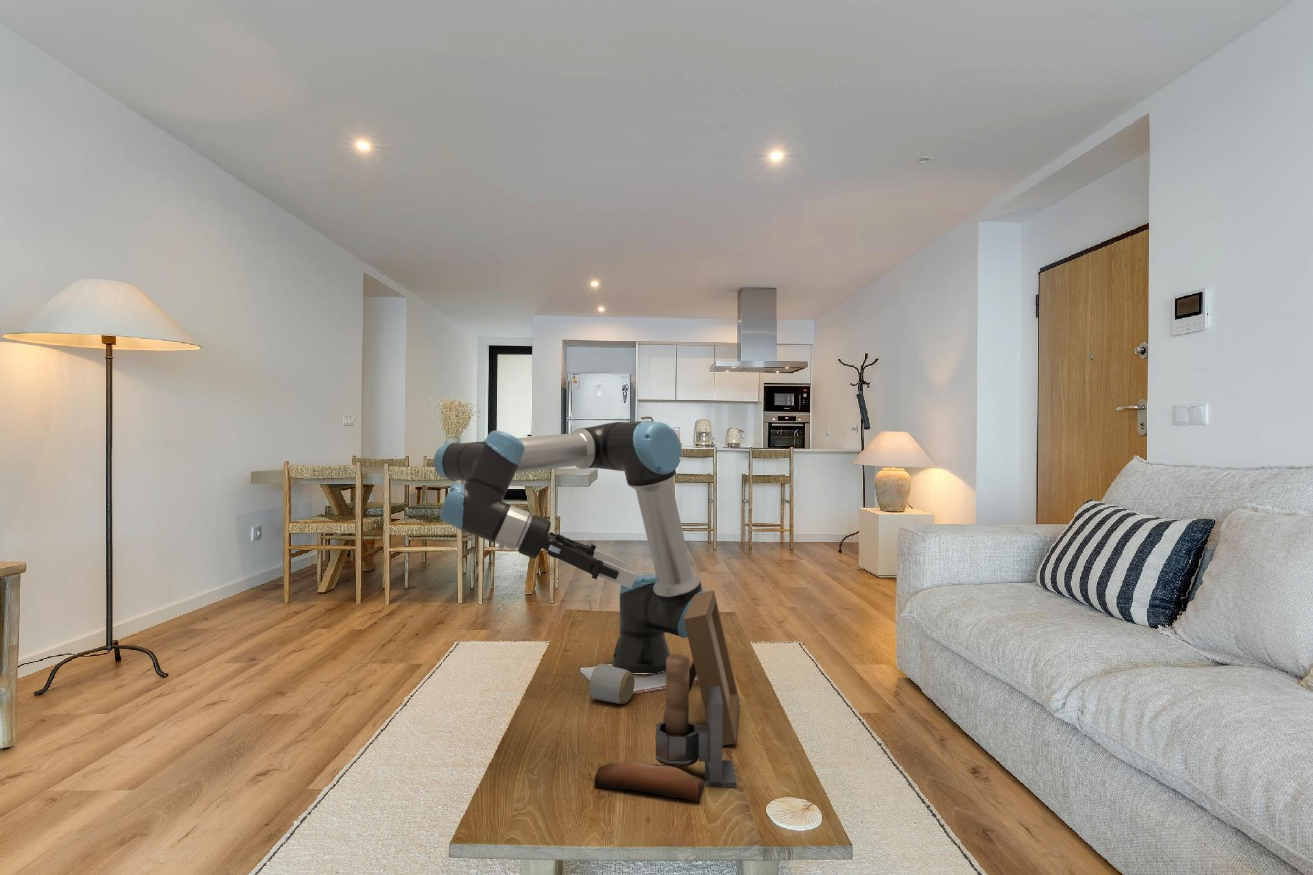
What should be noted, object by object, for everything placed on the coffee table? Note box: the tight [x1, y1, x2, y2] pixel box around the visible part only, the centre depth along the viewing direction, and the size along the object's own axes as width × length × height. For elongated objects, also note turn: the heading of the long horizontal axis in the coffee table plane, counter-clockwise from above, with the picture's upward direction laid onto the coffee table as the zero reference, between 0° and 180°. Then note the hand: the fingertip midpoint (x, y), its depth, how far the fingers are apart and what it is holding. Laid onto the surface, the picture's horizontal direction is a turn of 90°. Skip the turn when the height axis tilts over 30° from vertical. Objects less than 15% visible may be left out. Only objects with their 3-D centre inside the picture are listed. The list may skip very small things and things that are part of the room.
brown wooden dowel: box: [665, 654, 690, 736], centre depth 119 cm, size 4×4×16 cm
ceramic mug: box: [589, 663, 635, 705], centre depth 154 cm, size 11×8×8 cm
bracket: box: [655, 686, 738, 788], centre depth 119 cm, size 14×8×14 cm, turn 89°
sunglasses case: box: [593, 760, 706, 804], centre depth 115 cm, size 18×7×7 cm, turn 75°
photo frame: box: [662, 590, 741, 746], centre depth 141 cm, size 15×22×25 cm
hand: (628, 574), depth 131 cm, fingers open, 13 cm apart
